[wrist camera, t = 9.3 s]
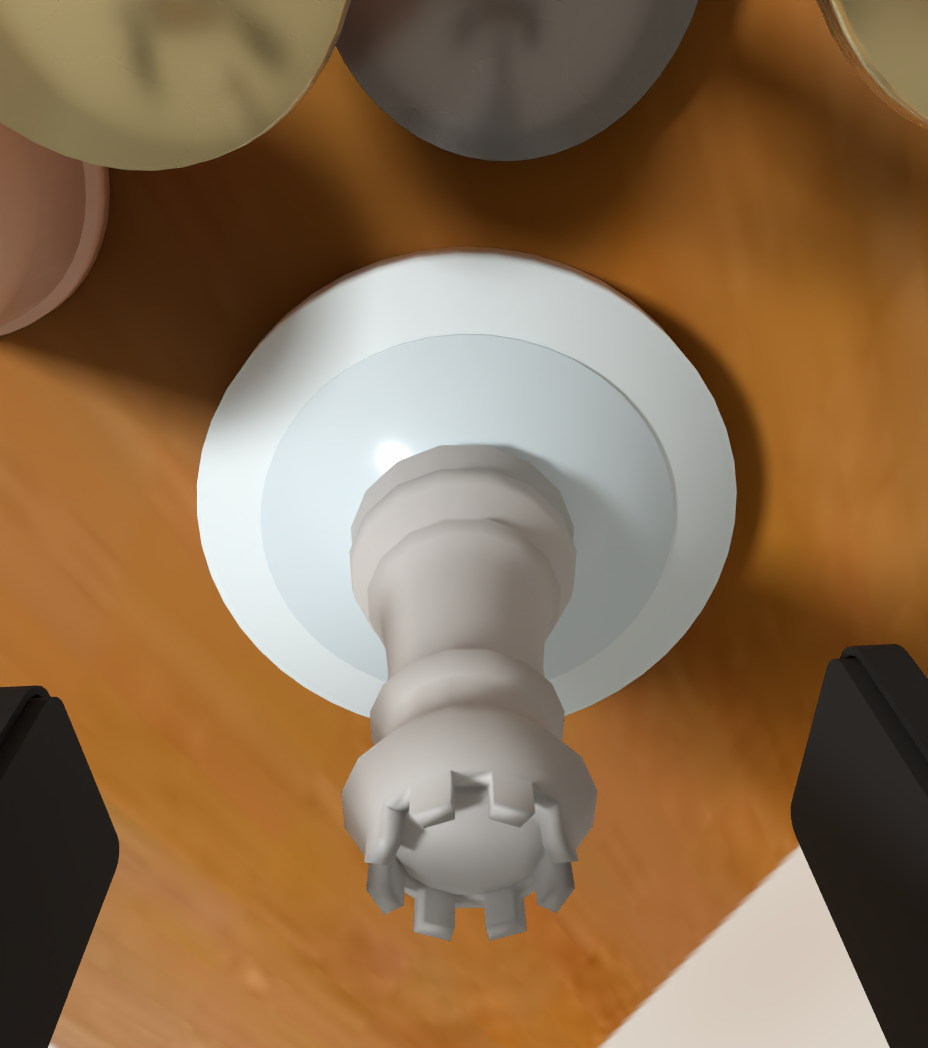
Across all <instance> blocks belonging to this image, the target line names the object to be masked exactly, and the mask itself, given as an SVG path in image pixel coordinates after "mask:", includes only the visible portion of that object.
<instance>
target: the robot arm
mask: <svg viewBox="0 0 928 1048" xmlns="http://www.w3.org/2000/svg"><path fill="white" fill-rule="evenodd" d="M791 820H792V825H793V829H794V832H795V835H796V838H797V840H798V842H799V844H800V847H801V849H802V851H803V853H804V856H805V858H806V860H807V862H808V865H809V867H810V869H811V871H812V873H813V876H814V878H815V880H816V883H817V885H818V887H819V889H820V892H821V894H822V896H823V898H824V901H825V903H826V905H827V907H828V910H829V912H830V914H831V916H832V919H833V921H834V923H835V925H836V928H837V930H838V932H839V934H840V937H841V939H842V941H843V943H844V946H845V948H846V950H847V952H848V955H849V957H850V959H851V961H852V964H853V965H854V968H855V970H856V972H857V975H858V977H859V979H860V981H861V984H862V986H863V988H864V991H865V993H866V995H867V997H868V1000H869V1002H870V1004H871V1006H872V1009H873V1011H874V1013H875V1015H876V1018H877V1020H878V1022H879V1024H880V1027H881V1029H882V1031H883V1033H884V1036H885V1038H886V1040H887V1042H888V1044H889V1047H890V1048H928V679H927V678H926V676H925V675H924V674H923V672H922V671H921V670H920V668H919V667H918V666H917V664H916V663H915V662H914V660H913V659H912V658H911V656H910V655H909V654H908V652H907V651H906V650H905V649H904V648H903V647H901V646H899V645H897V644H887V645H867V646H850V647H847V648H846V649H845V650H844V651H843V652H842V654H841V657H840V659H833V660H831V661H830V662H829V664H828V666H827V669H826V673H825V677H824V681H823V685H822V688H821V692H820V696H819V700H818V704H817V707H816V711H815V715H814V719H813V723H812V727H811V730H810V734H809V738H808V742H807V746H806V749H805V753H804V757H803V761H802V765H801V768H800V772H799V776H798V780H797V784H796V788H795V791H794V795H793V799H792V803H791ZM118 858H119V840H118V837H117V834H116V831H115V829H114V827H113V824H112V822H111V819H110V817H109V814H108V812H107V809H106V807H105V804H104V802H103V800H102V797H101V795H100V792H99V790H98V787H97V785H96V782H95V780H94V778H93V775H92V773H91V770H90V768H89V765H88V763H87V760H86V758H85V756H84V753H83V751H82V748H81V746H80V743H79V741H78V738H77V736H76V734H75V731H74V729H73V726H72V724H71V721H70V719H69V716H68V714H67V712H66V709H65V707H64V704H63V703H62V701H61V700H60V699H59V698H58V697H50V695H49V693H48V692H47V690H46V689H45V688H43V687H42V686H18V687H0V1048H48V1046H49V1043H50V1041H51V1038H52V1035H53V1033H54V1030H55V1027H56V1025H57V1022H58V1020H59V1017H60V1014H61V1012H62V1009H63V1006H64V1004H65V1001H66V999H67V996H68V993H69V991H70V988H71V986H72V983H73V980H74V978H75V975H76V972H77V970H78V967H79V965H80V962H81V959H82V957H83V954H84V952H85V949H86V946H87V944H88V941H89V938H90V936H91V933H92V931H93V928H94V925H95V923H96V920H97V917H98V915H99V912H100V910H101V907H102V904H103V902H104V899H105V897H106V894H107V891H108V889H109V886H110V883H111V881H112V878H113V876H114V873H115V870H116V867H117V864H118Z"/></svg>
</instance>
